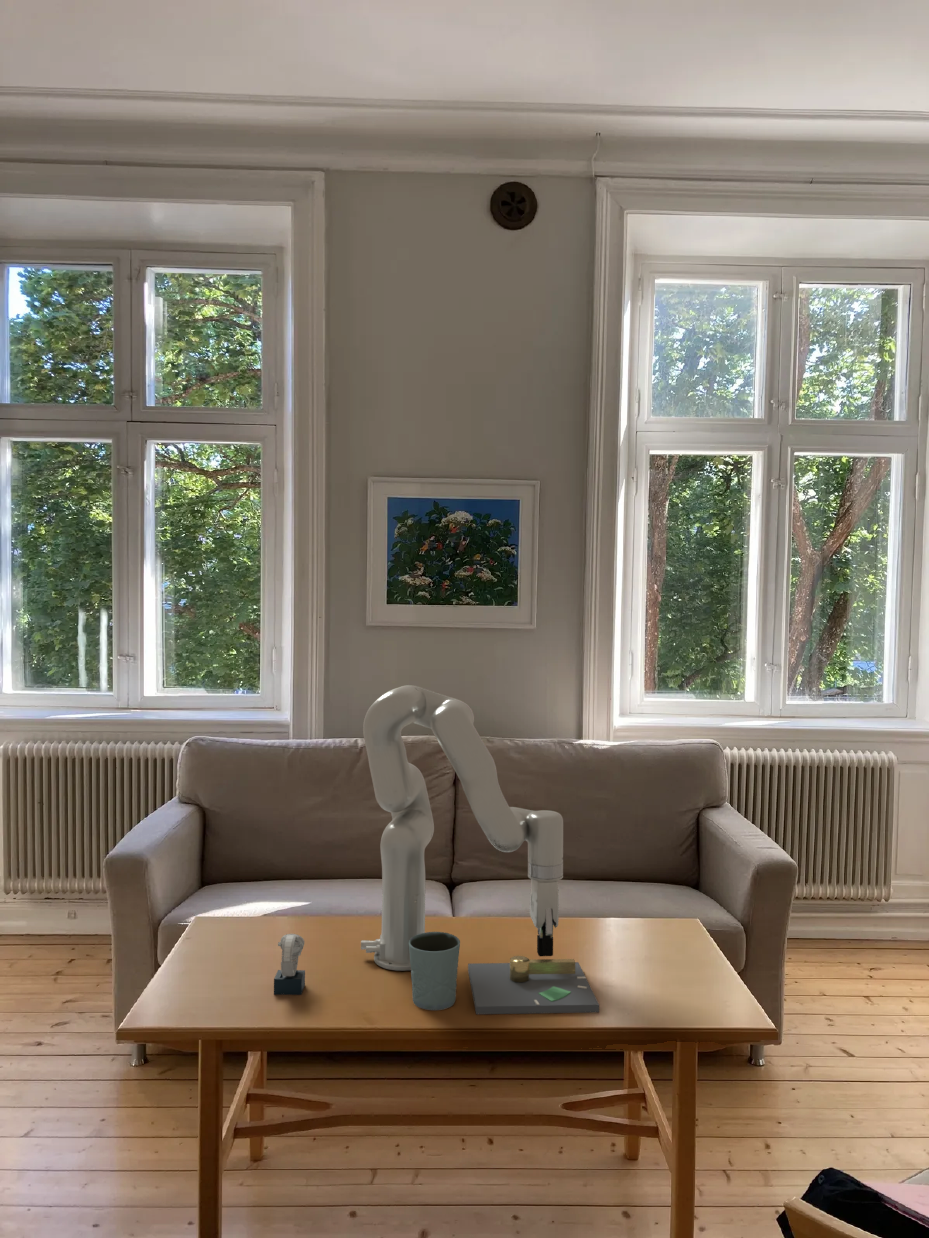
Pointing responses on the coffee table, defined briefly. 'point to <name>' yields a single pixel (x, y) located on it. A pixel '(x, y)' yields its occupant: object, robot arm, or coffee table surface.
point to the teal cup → (434, 969)
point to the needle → (538, 967)
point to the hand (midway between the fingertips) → (545, 954)
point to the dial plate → (529, 991)
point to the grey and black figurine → (290, 967)
